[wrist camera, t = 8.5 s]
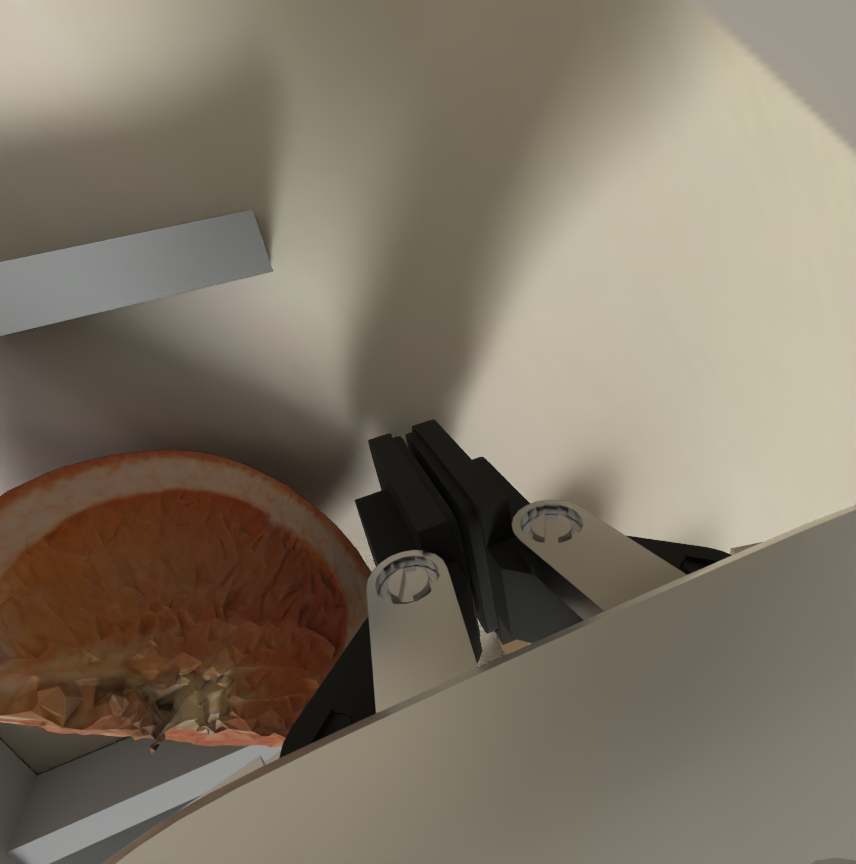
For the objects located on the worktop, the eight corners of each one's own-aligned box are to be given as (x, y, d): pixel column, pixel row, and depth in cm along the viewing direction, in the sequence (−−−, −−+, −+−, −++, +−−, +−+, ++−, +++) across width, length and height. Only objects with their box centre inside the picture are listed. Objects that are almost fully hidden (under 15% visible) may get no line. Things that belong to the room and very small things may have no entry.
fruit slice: (405, 505, 13) (477, 641, 9) (289, 685, 14) (304, 883, 10) (61, 363, 9) (-110, 480, 5) (-60, 623, 10) (-285, 905, 6)
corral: (253, 212, 9) (252, 208, 7) (396, 650, 15) (418, 715, 13) (-498, 369, 7) (-796, 425, 5) (9, 815, 13) (-37, 924, 11)
